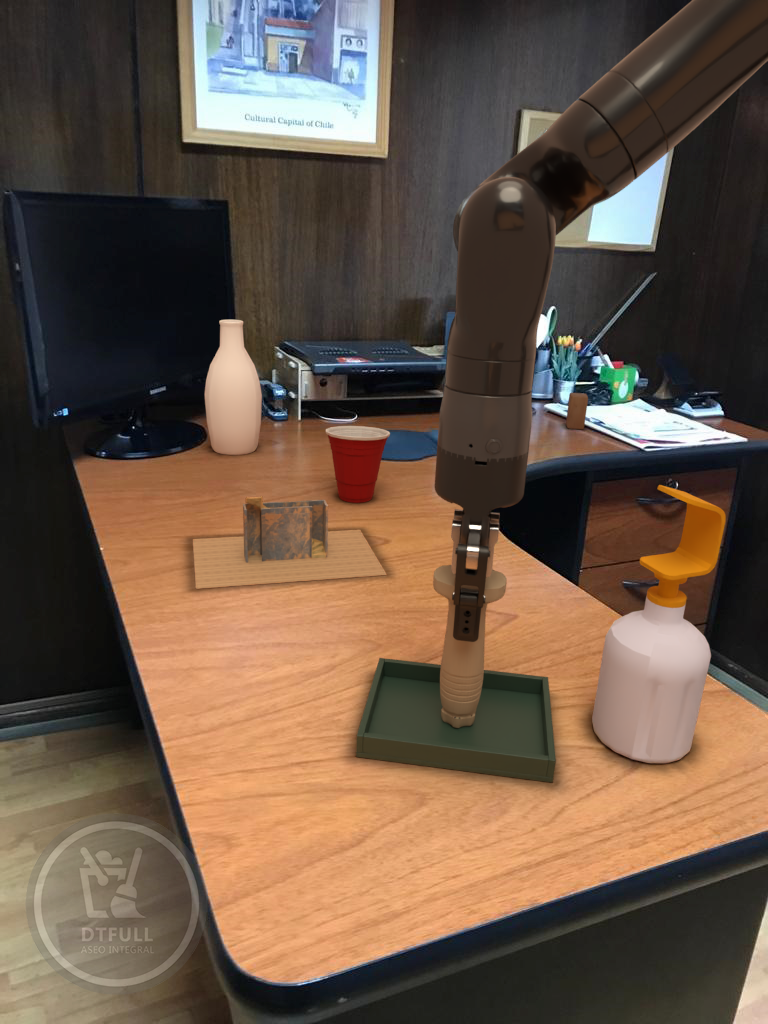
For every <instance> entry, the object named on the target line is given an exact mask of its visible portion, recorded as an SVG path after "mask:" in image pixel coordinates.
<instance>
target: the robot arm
mask: <svg viewBox="0 0 768 1024" xmlns="http://www.w3.org/2000/svg"><path fill="white" fill-rule="evenodd" d="M767 62H768V0H691V1H690V2H688V3H687V4H686V5H685V6H683V8H681V9H680V10H679V11H678V12H677V13H675V14H674V15H673V16H672V17H671V18H669V20H667V21H666V22H665V23H663V24H662V25H661V26H660V27H659V28H658V29H656V30H655V31H654V32H653V33H652V34H651V35H650V36H648V37H647V38H646V39H645V40H644V41H642V42H641V43H640V44H638V45H637V46H636V47H635V48H634V49H632V50H631V52H630V53H628V54H627V55H626V56H625V57H623V59H621V60H620V61H619V62H618V63H617V64H615V65H614V66H613V67H612V68H610V69H609V70H608V71H607V72H606V73H605V74H604V75H603V76H601V77H600V79H598V80H597V81H596V82H595V83H594V84H593V85H591V87H589V88H588V89H587V90H586V91H585V92H584V93H582V94H581V95H580V96H579V97H578V98H577V99H576V100H574V102H572V104H571V105H569V106H568V107H567V108H566V109H565V110H564V111H563V112H562V113H561V114H560V115H559V117H557V119H556V120H555V121H553V123H552V124H551V125H550V126H549V127H548V129H546V131H545V132H543V133H542V134H541V135H540V136H538V138H536V139H535V140H534V141H532V142H531V143H530V144H529V145H527V146H526V147H525V148H523V149H522V150H520V151H519V152H518V153H517V154H516V155H514V156H513V157H511V158H510V159H509V160H507V162H505V163H504V164H503V165H502V166H501V167H499V168H498V169H497V170H495V171H494V172H493V173H492V174H491V175H489V176H488V177H487V178H485V179H484V180H483V181H482V182H480V184H478V185H477V186H476V187H475V188H473V189H472V190H471V191H470V192H469V193H468V194H467V195H466V196H465V197H464V199H463V200H462V201H461V203H460V205H459V206H458V208H457V210H456V212H455V216H454V219H453V225H452V237H453V244H454V247H455V249H456V252H457V260H456V261H457V265H456V285H455V306H454V307H455V310H454V317H453V319H452V321H451V323H450V326H449V331H448V337H447V345H446V346H447V347H446V358H445V371H444V372H445V374H444V386H443V394H442V399H441V403H440V409H439V414H438V415H439V416H438V428H437V429H438V431H437V444H436V457H435V458H436V459H435V473H434V491H435V493H436V494H437V496H438V497H440V498H441V499H442V500H444V501H446V502H447V503H449V504H455V505H457V506H459V507H461V508H462V509H456V508H455V509H454V510H453V511H454V512H453V519H452V522H451V532H450V533H451V534H450V537H451V539H452V554H451V564H450V565H451V571H452V573H453V574H455V589H454V592H453V595H452V600H454V603H453V605H455V615H454V627H453V637H454V639H456V640H460V641H469V642H475V641H477V640H478V637H479V626H480V616H481V608H483V604H485V599H486V598H485V595H484V592H485V582H486V578H488V577H490V576H491V574H492V570H493V566H494V565H493V564H494V555H495V546H496V544H498V541H499V534H500V533H499V532H500V516H501V515H500V512H492V511H493V510H496V509H499V508H503V509H504V508H505V509H506V508H508V507H509V508H510V507H512V506H514V505H516V504H518V503H519V502H520V501H521V500H523V498H524V495H525V486H526V478H527V468H528V461H529V451H530V442H531V434H532V422H533V406H532V405H533V403H532V402H533V401H532V400H533V399H532V398H533V391H532V390H533V385H534V377H535V376H534V375H535V367H536V359H537V358H536V357H537V341H538V339H537V338H538V329H539V324H540V319H541V315H542V311H543V308H544V305H545V300H546V296H547V292H548V287H549V283H550V278H551V272H552V267H553V262H554V256H555V249H556V238H557V235H559V234H560V233H561V232H563V231H564V230H565V229H566V228H567V227H568V226H569V225H571V224H572V223H573V222H575V220H577V219H578V218H579V217H580V216H581V215H582V214H584V213H585V212H586V211H588V210H589V209H590V208H592V207H594V206H597V204H601V203H603V202H605V201H608V200H609V199H611V198H612V197H615V196H616V195H617V194H619V193H620V192H621V191H623V190H624V189H625V188H627V187H628V186H630V185H631V184H632V183H633V182H634V181H635V180H637V179H638V178H639V177H640V176H642V174H644V173H645V172H647V171H648V170H649V169H650V168H651V167H653V165H654V164H656V163H657V162H658V161H659V160H661V159H662V158H663V157H664V156H666V155H667V154H668V153H669V152H670V151H671V150H673V149H674V148H675V147H677V145H679V144H680V143H681V142H682V141H684V140H685V138H687V137H688V135H690V134H691V133H692V132H694V131H695V130H696V129H697V128H698V127H699V126H700V125H701V124H702V123H703V122H704V121H705V120H706V119H708V118H709V117H710V116H711V115H712V114H713V113H714V112H715V111H716V110H717V109H718V108H719V107H720V106H722V104H724V102H725V101H726V100H727V99H728V98H730V97H731V96H732V95H733V94H734V93H735V92H736V91H737V90H738V89H739V88H740V87H741V86H742V85H743V84H744V83H745V82H747V81H748V80H749V79H750V78H751V77H752V76H753V75H755V73H756V72H757V71H758V70H759V69H760V68H761V67H763V65H765V64H766V63H767ZM462 585H468V586H477V587H478V588H479V591H478V590H475V589H465V588H461V586H462Z"/></svg>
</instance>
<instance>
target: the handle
mask: <svg viewBox="0 0 768 1024" xmlns="http://www.w3.org/2000/svg"><path fill="white" fill-rule="evenodd" d="M451 565H452V564H444V565H440V566H438V567H436V568H435V570H434V571H433V578H432V588H433V590H434V592H436V593H437V594H438V595H440V596H442V597H444V598H445V599H447V601H448V610H447V619H446V626H445V633H444V641H443V647H442V653H441V660H440V665H441V669H440V697H441V704H442V706H443V708H442V709H441V717H442V720H443V721H444V722H446V723H449V724H450V725H452V726H453V727H454V728H460V727H463V726H471V725H472V724H473V722H474V719H475V713H476V708H477V706H478V702H479V699H480V695H481V690H482V684H483V675H484V670H485V645H486V644H485V643H486V641H485V640H486V639H485V638H486V617H487V615H486V614H487V608H488V604H490V603H491V604H492V603H495V602H497V601H499V600H501V599H502V598H503V597H504V596H505V593H506V590H507V583H508V582H507V580H508V579H507V576H506V575H505V574H504V573H503V572H501V571H499V570H495V569H492V574H491V576H490V577H488V578H486V582H485V592H484V595H485V598H486V599H485V604H483V608H481V616H480V626H479V637H478V640H477V641H475V642H469V641H460V640H456V639H454V637H453V627H454V615H455V605H453V603H454V600H452V595H453V592H454V589H455V574H453V573H452V571H451ZM461 588H465V589H475V590H478V591H479V588H478V587H477V586H468V585H462V586H461Z"/></svg>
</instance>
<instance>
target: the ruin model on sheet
mask: <svg viewBox="0 0 768 1024" xmlns="http://www.w3.org/2000/svg"><path fill="white" fill-rule="evenodd" d="M263 498H264V496H262V495H260V496H256V497H255V496H252V497H248V496H246V498H245V499H244V503H242V522H243V524H242V525H243V535H242V536H225V537H209V538H207V537H206V538H193V539H192V548H193V565H194V576H195V577H194V579H195V580H194V582H195V589H196V590H198V589H211V588H226V587H238V586H239V587H241V586H252V585H253V586H254V585H265V584H266V585H268V584H279V583H280V584H281V583H293V582H307V581H321V580H323V581H324V580H334V579H335V580H336V579H350V578H363V577H376V576H387V575H388V574H387V573H386V571H385V569H384V567H383V566H382V564H381V563H380V561H379V559H378V557H377V556H376V554H375V552H374V550H373V549H372V548H371V546H370V544H369V542H368V541H367V539H366V537H365V536H364V533H363V532H362V531H361V529H347V530H331V531H330V530H329V505H328V502H327V500H326V499H310V500H290V501H267V502H264V499H263Z"/></svg>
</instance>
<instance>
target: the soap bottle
mask: <svg viewBox="0 0 768 1024" xmlns="http://www.w3.org/2000/svg"><path fill="white" fill-rule="evenodd" d="M656 490H658V491H660V492H662V493H665V494H667V495H669V496H672V497H673V498H675V499H677V500H680V501H682V502H684V503H686V512H685V518H684V521H683V528H682V534H681V538H680V542H679V544H678V546H677V548H676V549H675V551H671V552H667V553H660V554H652V555H646V556H641V557H640V558H639V565H640V566H642V567H643V568H645V569H647V570H649V571H650V572H652V573H653V576H654V578H655V579H657V580H659V581H658V585H653V586H650V587H649V588H648V589H647V592H646V597H645V601H644V608H643V609H642V610H635V611H631V612H630V613H627V614H624V615H622V616H620V617H619V618H617V619H615V620H614V621H613V623H611V625H610V627H609V629H608V630H607V632H606V634H605V636H604V643H603V649H602V655H601V661H600V667H599V672H598V673H599V674H598V680H597V686H596V692H595V699H594V703H593V704H594V705H593V710H592V717H591V722H592V727H593V731H594V734H595V735H596V736H597V738H598V739H599V740H600V741H601V743H602V744H604V745H605V746H606V747H607V748H609V749H611V750H612V751H613V752H615V753H617V754H619V755H621V756H623V757H626V758H628V759H630V760H634V761H637V762H638V761H639V762H641V763H642V762H643V763H647V764H669V763H672V762H676V761H679V760H681V759H683V757H685V756H686V755H687V754H688V753H689V752H690V751H691V749H692V745H693V740H694V735H695V732H696V727H697V723H698V717H699V713H700V708H701V704H702V699H703V695H704V690H705V685H706V681H707V677H708V673H709V672H708V671H709V667H710V662H711V658H712V653H711V648H710V644H709V642H708V640H707V638H706V636H705V635H704V634H703V633H702V632H701V631H700V630H699V629H698V627H696V626H695V625H694V624H692V623H691V621H688V620H687V619H685V618H684V615H685V609H686V605H687V600H688V597H687V594H686V593H684V592H683V591H682V590H680V589H679V588H680V585H683V584H686V582H687V581H688V578H694V577H700V576H706V575H708V574H710V573H711V572H712V571H713V570H714V568H715V567H716V565H717V562H718V559H719V553H720V549H721V544H722V540H723V535H724V530H725V525H726V520H727V519H726V517H727V515H726V513H725V510H723V509H722V508H721V507H719V506H717V505H715V504H713V503H710V502H709V501H707V500H704V499H701V498H700V497H697V496H695V495H693V494H691V493H688V492H686V491H683V490H680V489H676V488H673V487H669V486H665V485H662V484H659V485H658V486H657V489H656Z"/></svg>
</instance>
